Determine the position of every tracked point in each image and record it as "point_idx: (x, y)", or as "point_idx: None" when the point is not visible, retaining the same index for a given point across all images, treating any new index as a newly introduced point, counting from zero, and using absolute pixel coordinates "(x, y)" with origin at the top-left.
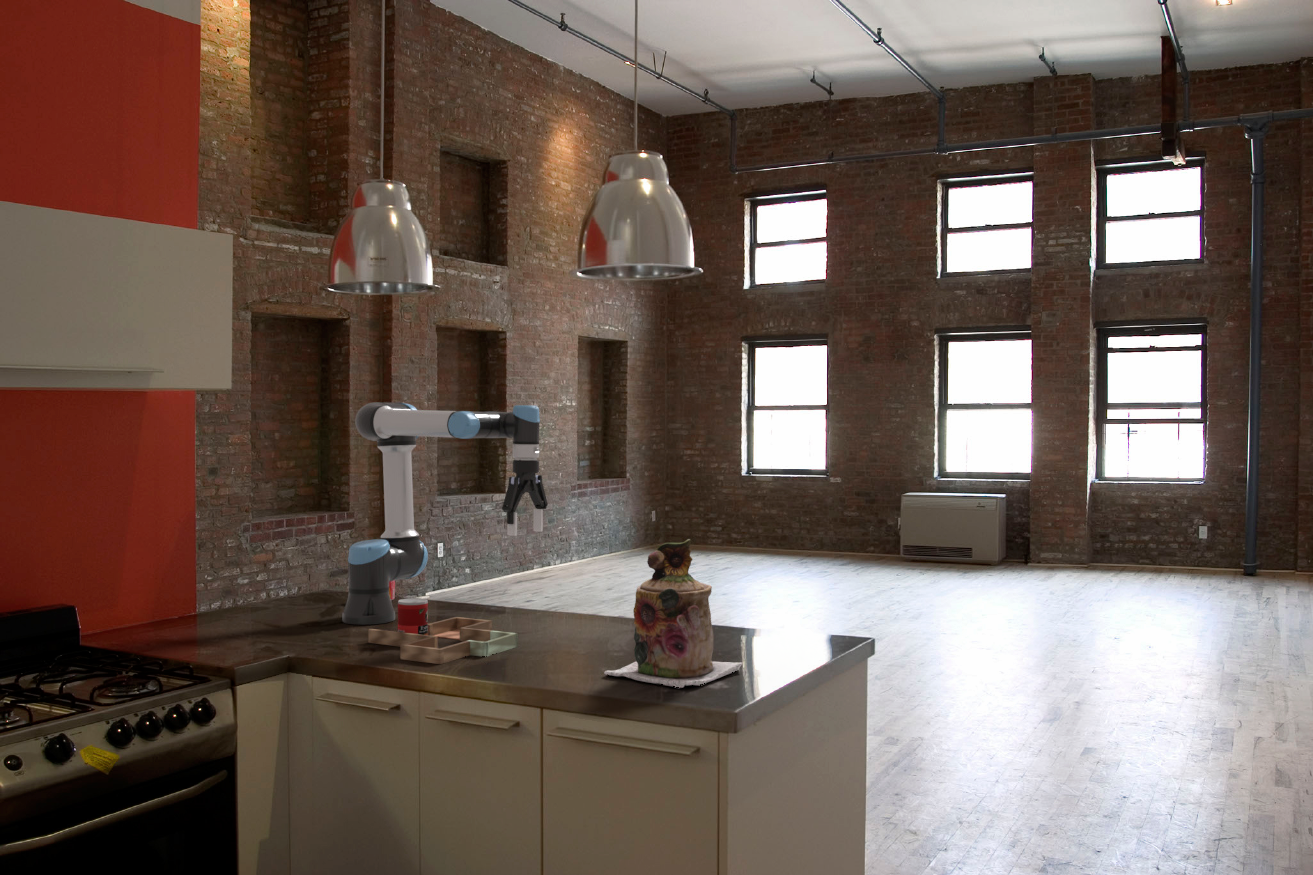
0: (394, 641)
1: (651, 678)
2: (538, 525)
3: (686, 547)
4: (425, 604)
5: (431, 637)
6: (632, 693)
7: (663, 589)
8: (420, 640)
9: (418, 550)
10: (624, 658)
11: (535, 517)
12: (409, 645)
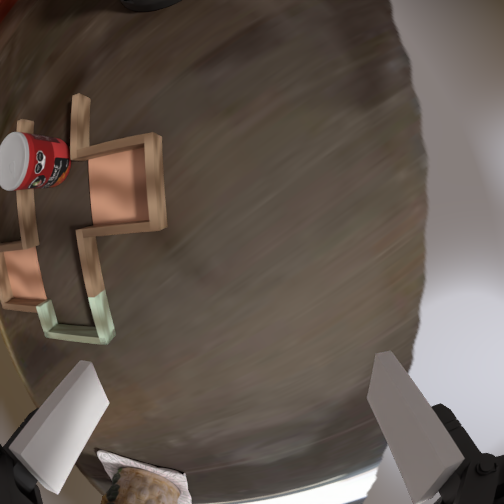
0: None
1: (110, 475)
2: (382, 408)
3: None
4: (15, 189)
5: (20, 247)
6: (87, 465)
7: None
8: (6, 248)
9: None
10: (162, 450)
11: (408, 430)
12: None
